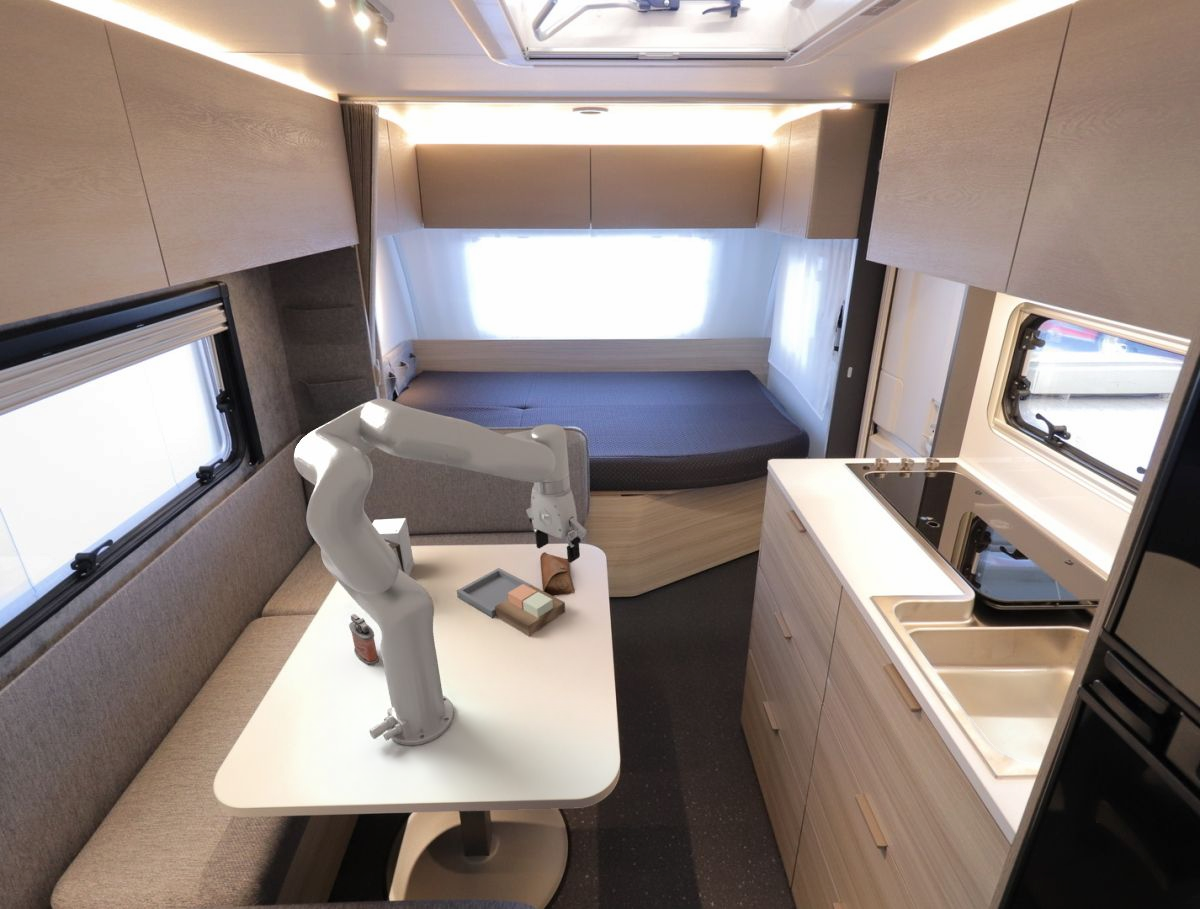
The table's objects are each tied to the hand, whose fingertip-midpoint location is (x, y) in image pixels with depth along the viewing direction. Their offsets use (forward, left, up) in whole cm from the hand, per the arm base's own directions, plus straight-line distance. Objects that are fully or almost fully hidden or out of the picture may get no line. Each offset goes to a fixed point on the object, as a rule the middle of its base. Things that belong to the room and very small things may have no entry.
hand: (558, 552), depth 136 cm
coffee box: (-19, +45, -22) cm, 53 cm away
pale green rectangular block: (0, +8, -19) cm, 21 cm away
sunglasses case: (+16, +18, -23) cm, 33 cm away
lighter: (-34, +29, -22) cm, 50 cm away
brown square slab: (0, +11, -22) cm, 25 cm away
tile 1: (0, +14, -19) cm, 23 cm away
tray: (0, +25, -22) cm, 33 cm away
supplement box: (-11, +55, -22) cm, 60 cm away
